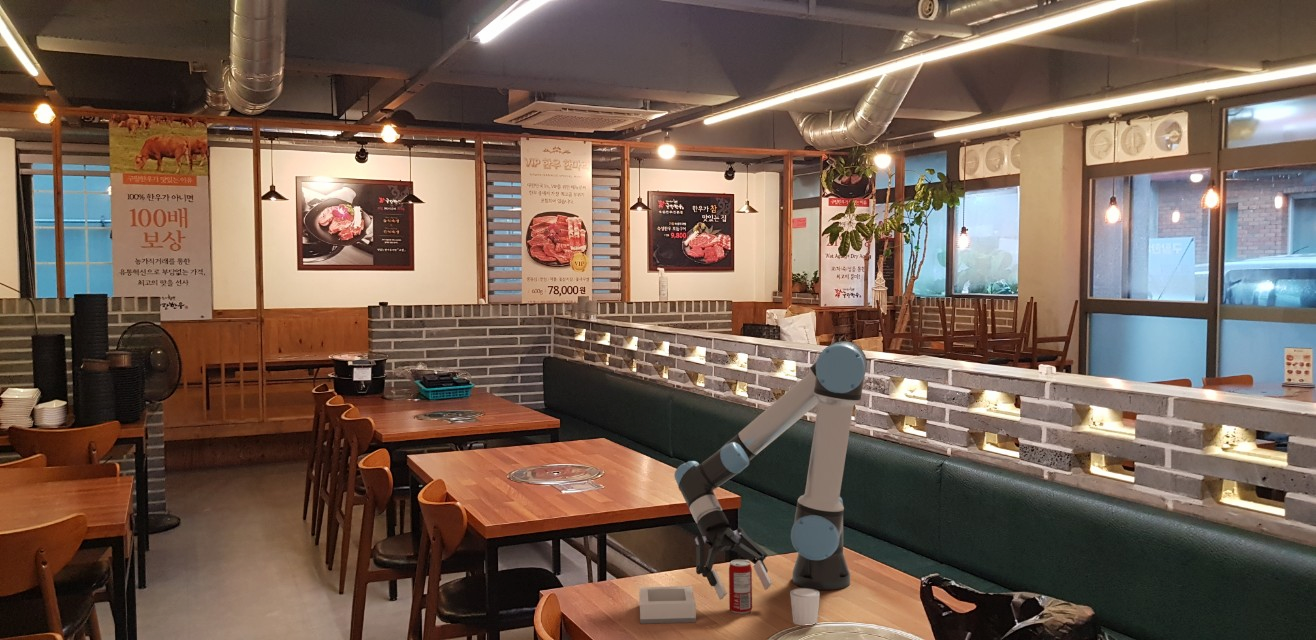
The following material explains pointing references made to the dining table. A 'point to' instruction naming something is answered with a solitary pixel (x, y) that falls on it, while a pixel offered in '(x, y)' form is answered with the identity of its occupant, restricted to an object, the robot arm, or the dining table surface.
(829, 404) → the robot arm
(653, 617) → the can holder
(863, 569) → the dining table surface
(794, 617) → the shot glass
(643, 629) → the dining table surface
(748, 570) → the soda can
